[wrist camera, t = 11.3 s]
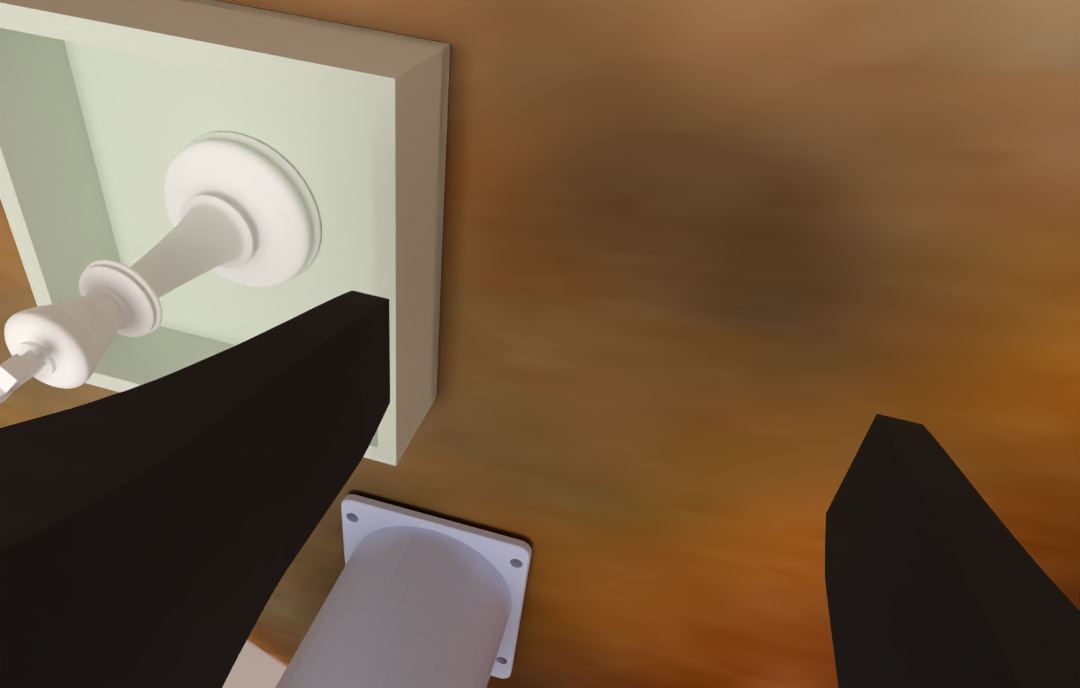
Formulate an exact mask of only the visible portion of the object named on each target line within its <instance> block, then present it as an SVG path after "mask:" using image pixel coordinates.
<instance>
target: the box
mask: <svg viewBox="0 0 1080 688" xmlns="http://www.w3.org/2000/svg"><path fill="white" fill-rule="evenodd" d="M449 66H450V44H449V43H443V42H438V41H432V40H427V39H421V38H416V37H411V36H405V35H400V34H394V33H389V32H384V31H378V30H373V29H367V28H362V27H356V26H351V25H346V24H340V23H335V22H329V21H324V20H319V19H313V18H308V17H302V16H297V15H291V14H286V13H281V12H275V11H270V10H264V9H259V8H253V7H248V6H243V5H237V4H232V3H226V2H221V1H216V0H0V199H1V202H2V204H3V207H4V210H5V213H6V216H7V219H8V222H9V225H10V228H11V230H12V233H13V236H14V239H15V242H16V245H17V248H18V251H19V254H20V257H21V259H22V262H23V265H24V268H25V271H26V274H27V277H28V280H29V283H30V286H31V288H32V291H33V294H34V297H35V300H36V303H37V306H45V305H50V304H55V303H59V302H62V301H65V300H67V299H71V298H75V297H81V294H80V290H79V280H80V276H81V274H82V273H83V272H84V271H85V269H86V268H87V266H88V265H89V264H90V263H92V262H94V261H97V260H101V259H108V260H114V261H117V262H120V263H123V264H125V265H127V266H129V267H131V266H132V265H133V264H135V263H136V262H137V261H138V260H139V259H141V258H142V257H143V256H144V255H145V254H147V253H148V252H149V251H150V250H151V249H152V248H153V247H154V246H155V245H156V244H158V243H159V242H160V241H161V240H162V239H163V238H164V237H165V236H166V235H167V234H168V233H169V232H170V231H171V230H173V229H174V227H173V225H172V223H171V220H170V218H169V215H168V212H167V209H166V204H165V199H164V180H165V175H166V172H167V169H168V166H169V164H170V162H171V161H172V159H173V158H174V157H175V155H176V154H177V153H178V152H179V151H181V150H182V149H183V148H185V147H186V146H187V145H188V144H189V143H190V142H191V141H193V140H194V139H196V138H198V137H200V136H202V135H205V134H208V133H213V132H232V133H238V134H242V135H245V136H248V137H251V138H253V139H255V140H258V141H260V142H262V143H263V144H265V145H267V146H268V147H270V148H271V149H273V150H274V151H276V152H277V153H278V154H280V155H281V156H282V157H283V158H284V159H285V160H286V161H287V162H288V163H289V164H290V165H291V166H292V167H293V168H294V169H295V170H296V171H297V173H298V174H299V175H300V177H301V178H302V179H303V181H304V182H305V184H306V185H307V187H308V189H309V191H310V193H311V195H312V197H313V199H314V201H315V204H316V207H317V210H318V214H319V219H320V226H321V237H320V245H319V249H318V252H317V254H316V256H315V258H314V260H313V261H312V263H311V264H310V266H309V267H308V268H307V269H306V270H304V271H303V272H302V273H301V274H299V275H297V276H295V277H293V278H292V279H290V280H289V281H287V282H285V283H283V284H280V285H277V286H273V287H266V288H257V287H249V286H244V285H241V284H237V283H235V282H232V281H229V280H227V279H225V278H223V277H221V276H220V275H218V274H216V273H215V272H213V271H212V270H209V271H208V272H206V273H204V274H202V275H200V276H198V277H196V278H194V279H192V280H190V281H189V282H187V283H185V284H183V285H181V286H179V287H177V288H176V289H174V290H172V291H171V292H169V293H167V294H165V295H164V296H162V297H160V298H159V300H160V303H161V307H162V313H163V314H162V321H161V324H160V325H159V327H158V328H157V329H156V330H155V331H153V332H152V333H149V334H145V335H143V336H140V337H129V336H124V335H121V334H118V333H116V335H115V337H114V339H113V341H112V342H111V344H110V345H109V346H108V347H107V349H106V350H105V352H104V353H103V355H102V357H101V358H100V361H99V363H98V366H97V367H96V369H95V370H94V372H93V373H92V375H91V376H90V378H89V379H88V380H87V381H86V382H85V383H87V384H91V385H95V386H99V387H102V388H106V389H110V390H114V391H117V392H123V391H126V390H129V389H132V388H134V387H137V386H140V385H142V384H145V383H148V382H151V381H153V380H156V379H158V378H161V377H163V376H166V375H169V374H171V373H173V372H176V371H178V370H180V369H183V368H185V367H187V366H190V365H192V364H194V363H196V362H199V361H201V360H203V359H206V358H208V357H210V356H213V355H215V354H217V353H220V352H222V351H224V350H227V349H229V348H231V347H234V346H236V345H238V344H240V343H242V342H244V341H246V340H248V339H250V338H253V337H255V336H257V335H259V334H261V333H263V332H265V331H267V330H269V329H271V328H273V327H275V326H277V325H280V324H282V323H284V322H286V321H288V320H290V319H292V318H294V317H296V316H298V315H300V314H302V313H304V312H306V311H308V310H310V309H312V308H314V307H316V306H318V305H320V304H322V303H324V302H327V301H329V300H331V299H333V298H335V297H337V296H340V295H342V294H344V293H347V292H349V291H352V290H353V291H357V292H361V293H366V294H370V295H374V296H378V297H383V298H387V299H389V323H390V404H389V406H388V408H387V410H386V412H385V414H384V416H383V419H382V421H381V423H380V425H379V427H378V429H377V431H376V433H375V435H374V437H373V439H372V441H371V443H370V445H369V447H368V449H367V451H366V453H365V455H364V456H363V457H364V458H368V459H372V460H376V461H379V462H383V463H387V464H391V465H394V466H397V464H398V462H399V460H400V459H401V457H402V455H403V454H404V452H405V450H406V448H407V447H408V445H409V443H410V442H411V440H412V438H413V436H414V435H415V433H416V431H417V429H418V428H419V426H420V424H421V423H422V421H423V419H424V417H425V416H426V414H427V412H428V411H429V409H430V407H431V405H432V404H433V402H434V400H435V399H436V395H437V370H438V344H439V319H440V294H441V268H442V243H443V218H444V193H445V167H446V142H447V117H448V91H449Z"/></svg>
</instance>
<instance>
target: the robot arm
mask: <svg viewBox="0 0 1080 688" xmlns="http://www.w3.org/2000/svg"><path fill="white" fill-rule="evenodd" d="M389 404H390V323H389V299H387V298H383V297H378V296H374V295H370V294H366V293H361V292H357V291H353V290H352V291H349V292H347V293H344V294H342V295H340V296H337V297H335V298H333V299H331V300H329V301H327V302H324V303H322V304H320V305H318V306H316V307H314V308H312V309H310V310H308V311H306V312H304V313H302V314H300V315H298V316H296V317H294V318H292V319H290V320H288V321H286V322H284V323H282V324H280V325H277V326H275V327H273V328H271V329H269V330H267V331H265V332H263V333H261V334H259V335H257V336H255V337H253V338H250V339H248V340H246V341H244V342H242V343H240V344H238V345H236V346H234V347H231V348H229V349H227V350H224V351H222V352H220V353H217V354H215V355H213V356H210V357H208V358H206V359H203V360H201V361H199V362H196V363H194V364H192V365H190V366H187V367H185V368H183V369H180V370H178V371H176V372H173V373H171V374H169V375H166V376H163V377H161V378H158V379H156V380H153V381H151V382H148V383H145V384H142V385H140V386H137V387H134V388H132V389H129V390H126V391H123V392H120V393H117V394H114V395H111V396H108V397H105V398H102V399H99V400H97V401H94V402H91V403H88V404H84V405H81V406H78V407H75V408H72V409H68V410H64V411H61V412H57V413H53V414H50V415H46V416H43V417H39V418H35V419H32V420H28V421H25V422H21V423H17V424H14V425H10V426H7V427H3V428H0V688H222V686H223V684H224V682H225V681H226V679H227V677H228V675H229V673H230V671H231V669H232V667H233V665H234V663H235V661H236V659H237V657H238V655H239V653H240V651H241V649H242V648H243V646H244V644H245V642H246V640H247V639H248V637H249V635H250V633H251V631H252V629H253V627H254V626H255V624H256V622H257V620H258V618H259V616H260V614H261V613H262V611H263V609H264V607H265V605H266V603H267V601H268V600H269V598H270V596H271V594H272V593H273V591H274V590H275V588H276V586H277V585H278V583H279V582H280V580H281V578H282V577H283V575H284V573H285V572H286V570H287V569H288V567H289V566H290V564H291V563H292V561H293V560H294V558H295V557H296V556H297V554H298V553H299V551H300V550H301V548H302V547H303V545H304V544H305V542H306V541H307V539H308V538H309V536H310V535H311V534H312V532H313V531H314V529H315V528H316V526H317V525H318V523H319V522H320V520H321V519H322V517H323V516H324V514H325V513H326V512H327V510H328V509H329V507H330V506H331V504H332V503H333V501H334V500H335V498H336V497H337V495H338V494H339V492H340V491H341V489H342V488H343V486H344V485H345V483H346V482H347V480H348V479H349V477H350V476H351V474H352V473H353V472H354V470H355V469H356V467H357V465H358V464H359V462H360V461H361V459H362V458H363V456H364V455H365V453H366V451H367V449H368V447H369V445H370V443H371V441H372V439H373V437H374V435H375V433H376V431H377V429H378V427H379V425H380V423H381V421H382V419H383V416H384V414H385V412H386V410H387V408H388V406H389ZM341 512H342V527H343V541H344V556H345V567H344V569H343V571H342V572H341V574H340V576H339V578H338V579H337V581H336V583H335V585H334V586H333V588H332V590H331V592H330V593H329V595H328V597H327V599H326V600H325V602H324V604H323V606H322V607H321V609H320V611H319V613H318V614H317V616H316V618H315V620H314V621H313V623H312V625H311V627H310V628H309V630H308V632H307V634H306V635H305V637H304V639H303V641H302V642H301V644H300V646H299V648H298V649H297V651H296V653H295V655H294V656H293V658H292V660H291V661H290V663H289V665H288V667H287V668H286V670H285V672H284V674H283V675H282V677H281V679H280V681H279V682H278V684H277V686H276V688H487V685H488V682H489V679H490V676H495V677H498V678H508V677H509V676H510V675H511V671H512V668H513V662H514V656H515V649H516V643H517V637H518V631H519V625H520V619H521V613H522V607H523V601H524V595H525V589H526V583H527V577H528V571H529V565H530V559H531V553H532V550H531V547H530V546H529V544H527V543H526V542H524V541H522V540H519V539H515V538H512V537H508V536H504V535H501V534H497V533H493V532H490V531H486V530H482V529H479V528H475V527H471V526H468V525H464V524H461V523H457V522H453V521H450V520H446V519H442V518H439V517H435V516H431V515H428V514H424V513H421V512H417V511H413V510H410V509H406V508H402V507H399V506H395V505H391V504H388V503H384V502H380V501H377V500H373V499H370V498H366V497H362V496H359V495H354V494H350V495H347V496H346V497H345V498H344V500H343V501H342V503H341ZM825 581H826V590H827V599H828V607H829V615H830V624H831V632H832V640H833V647H834V655H835V663H836V670H837V678H838V686H839V688H1080V611H1079V610H1078V609H1077V608H1076V607H1075V606H1074V605H1073V603H1072V602H1071V601H1070V600H1069V599H1068V598H1067V597H1066V596H1065V595H1064V594H1063V593H1062V591H1061V590H1060V589H1059V588H1058V587H1057V586H1056V585H1055V584H1054V583H1053V582H1052V580H1051V579H1050V578H1049V577H1048V576H1047V575H1046V574H1045V573H1044V571H1043V570H1042V569H1041V568H1040V567H1039V566H1038V564H1037V563H1036V562H1035V561H1034V560H1033V559H1032V558H1031V556H1030V555H1029V554H1028V553H1027V552H1026V551H1025V549H1024V548H1023V547H1022V546H1021V545H1020V543H1019V542H1018V541H1017V540H1016V539H1015V537H1014V536H1013V535H1012V534H1011V533H1010V531H1009V530H1008V529H1007V528H1006V527H1005V525H1004V524H1003V523H1002V522H1001V520H1000V519H999V518H998V517H997V516H996V514H995V513H994V512H993V511H992V509H991V508H990V507H989V506H988V504H987V503H986V502H985V501H984V499H983V498H982V497H981V496H980V494H979V493H978V492H977V491H976V489H975V488H974V487H973V486H972V484H971V483H970V482H969V481H968V479H967V478H966V477H965V476H964V474H963V473H962V472H961V471H960V469H959V468H958V467H957V465H956V464H955V463H954V462H953V460H952V459H951V458H950V457H949V455H948V454H947V453H946V452H945V450H944V449H943V448H942V447H941V446H940V444H939V443H938V442H937V441H936V439H935V438H934V437H933V436H932V435H931V434H930V432H929V431H928V430H927V429H926V428H925V427H924V426H923V425H922V424H918V423H913V422H909V421H905V420H901V419H896V418H892V417H888V416H884V415H879V414H877V415H876V417H875V419H874V421H873V423H872V425H871V427H870V429H869V430H868V432H867V434H866V436H865V438H864V440H863V442H862V444H861V446H860V448H859V450H858V452H857V454H856V456H855V458H854V460H853V462H852V464H851V466H850V468H849V470H848V472H847V474H846V476H845V478H844V480H843V482H842V483H841V485H840V487H839V489H838V491H837V493H836V495H835V497H834V499H833V501H832V503H831V505H830V507H829V509H828V511H827V513H826V538H825Z"/></svg>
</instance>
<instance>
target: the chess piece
mask: <svg viewBox="0 0 1080 688" xmlns="http://www.w3.org/2000/svg"><path fill="white" fill-rule="evenodd" d="M164 199H165V204H166V209H167V212H168V215H169V218H170V220H171V223H172V225H173V227H174V229H173V230H171V231H170V232H169V233H168V234H167V235H166V236H165V237H164V238H163V239H162V240H161V241H160V242H159V243H158V244H156V245H155V246H154V247H153V248H152V249H151V250H150V251H149V252H148V253H147V254H145V255H144V256H143V257H142V258H141V259H139V260H138V261H137V262H136V263H135V264H133V265H132V266H131V267H129V266H127V265H125V264H123V263H120V262H117V261H114V260H108V259H101V260H97V261H94V262H92V263H90V264H89V265H88V266H87V268H86V269H85V271H84V272H83V273H82V274H81V276H80V280H79V290H80V294H81V297H75V298H71V299H67V300H65V301H62V302H59V303H55V304H50V305H45V306H38V307H34V308H30V309H26V310H23V311H20V312H18V313H16V314H14V315H12V316H11V317H10V318H9V319H8V321H7V323H6V325H5V330H4V335H5V341H6V344H7V347H8V349H9V351H10V353H11V355H12V357H11V358H9V359H8V360H6V361H5V362H3V363H2V364H0V404H1V403H2V402H4V401H5V400H6V399H7V398H8V397H9V396H10V395H11V393H12V392H13V391H14V390H15V389H16V388H18V387H19V386H20V385H22V384H23V383H24V382H26V381H27V380H29V379H30V378H31V377H34V378H36V379H38V380H39V381H41V382H43V383H46V384H48V385H51V386H54V387H58V388H75V387H78V386H80V385H82V384H84V383H85V382H86V381H87V380H88V379H89V378H90V376H91V375H92V373H93V372H94V370H95V369H96V367H97V366H98V363H99V361H100V358H101V357H102V355H103V353H104V352H105V350H106V349H107V347H108V346H109V345H110V344H111V342H112V341H113V339H114V337H115V335H116V333H118V334H121V335H124V336H129V337H140V336H143V335H145V334H149V333H152V332H153V331H155V330H156V329H157V328H158V327H159V325H160V324H161V321H162V314H163V313H162V307H161V303H160V300H159V298H160V297H162V296H164V295H165V294H167V293H169V292H171V291H172V290H174V289H176V288H177V287H179V286H181V285H183V284H185V283H187V282H189V281H190V280H192V279H194V278H196V277H198V276H200V275H202V274H204V273H206V272H208V271H209V270H212V271H213V272H215V273H216V274H218V275H220V276H221V277H223V278H225V279H227V280H229V281H232V282H235V283H237V284H241V285H244V286H249V287H257V288H266V287H273V286H277V285H280V284H283V283H285V282H287V281H289V280H290V279H292V278H293V277H295V276H297V275H299V274H301V273H302V272H303V271H304V270H306V269H307V268H308V267H309V266H310V264H311V263H312V261H313V260H314V258H315V256H316V254H317V252H318V249H319V245H320V237H321V226H320V219H319V214H318V210H317V207H316V204H315V201H314V199H313V197H312V195H311V193H310V191H309V189H308V187H307V185H306V184H305V182H304V181H303V179H302V178H301V177H300V175H299V174H298V173H297V171H296V170H295V169H294V168H293V167H292V166H291V165H290V164H289V163H288V162H287V161H286V160H285V159H284V158H283V157H282V156H281V155H280V154H278V153H277V152H276V151H274V150H273V149H271V148H270V147H268V146H267V145H265V144H263V143H262V142H260V141H258V140H255V139H253V138H251V137H248V136H245V135H242V134H238V133H232V132H213V133H208V134H205V135H202V136H200V137H198V138H196V139H194V140H193V141H191V142H190V143H189V144H188V145H187V146H186V147H185V148H183V149H182V150H181V151H179V152H178V153H177V154H176V155H175V157H174V158H173V159H172V161H171V162H170V164H169V166H168V169H167V172H166V175H165V180H164Z"/></svg>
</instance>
